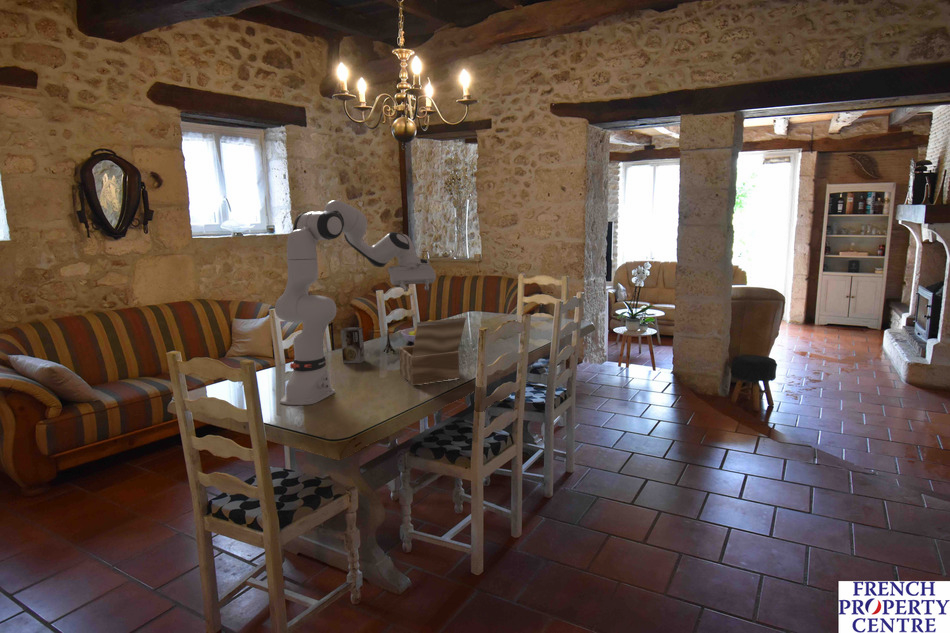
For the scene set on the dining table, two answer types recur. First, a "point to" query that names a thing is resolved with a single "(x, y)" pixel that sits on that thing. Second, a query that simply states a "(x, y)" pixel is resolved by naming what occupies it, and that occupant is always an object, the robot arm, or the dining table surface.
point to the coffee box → (352, 345)
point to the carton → (428, 366)
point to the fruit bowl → (410, 333)
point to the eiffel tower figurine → (388, 345)
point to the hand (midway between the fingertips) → (416, 290)
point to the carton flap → (438, 336)
